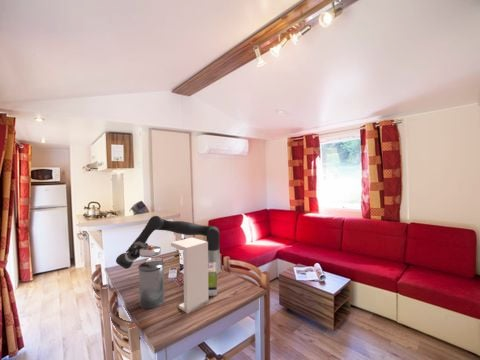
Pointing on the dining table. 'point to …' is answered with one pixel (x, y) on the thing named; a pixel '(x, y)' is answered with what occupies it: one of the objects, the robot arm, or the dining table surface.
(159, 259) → the frying pan
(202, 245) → the white bookcase side
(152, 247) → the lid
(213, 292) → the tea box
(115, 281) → the dining table surface
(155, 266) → the grey glass jar
